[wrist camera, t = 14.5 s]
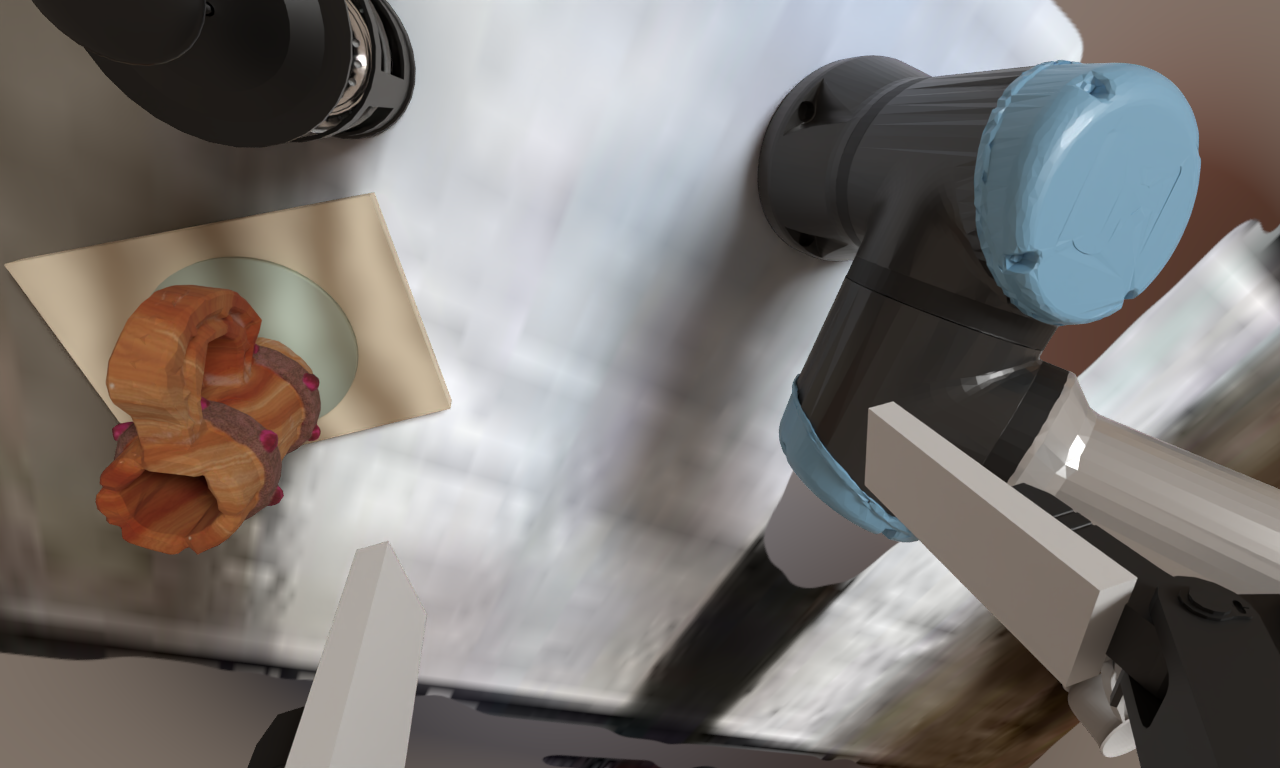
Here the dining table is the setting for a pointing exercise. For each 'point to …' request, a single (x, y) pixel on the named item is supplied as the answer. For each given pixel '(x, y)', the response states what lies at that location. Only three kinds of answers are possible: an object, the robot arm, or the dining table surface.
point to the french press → (250, 64)
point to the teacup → (1100, 717)
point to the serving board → (264, 302)
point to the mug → (201, 419)
